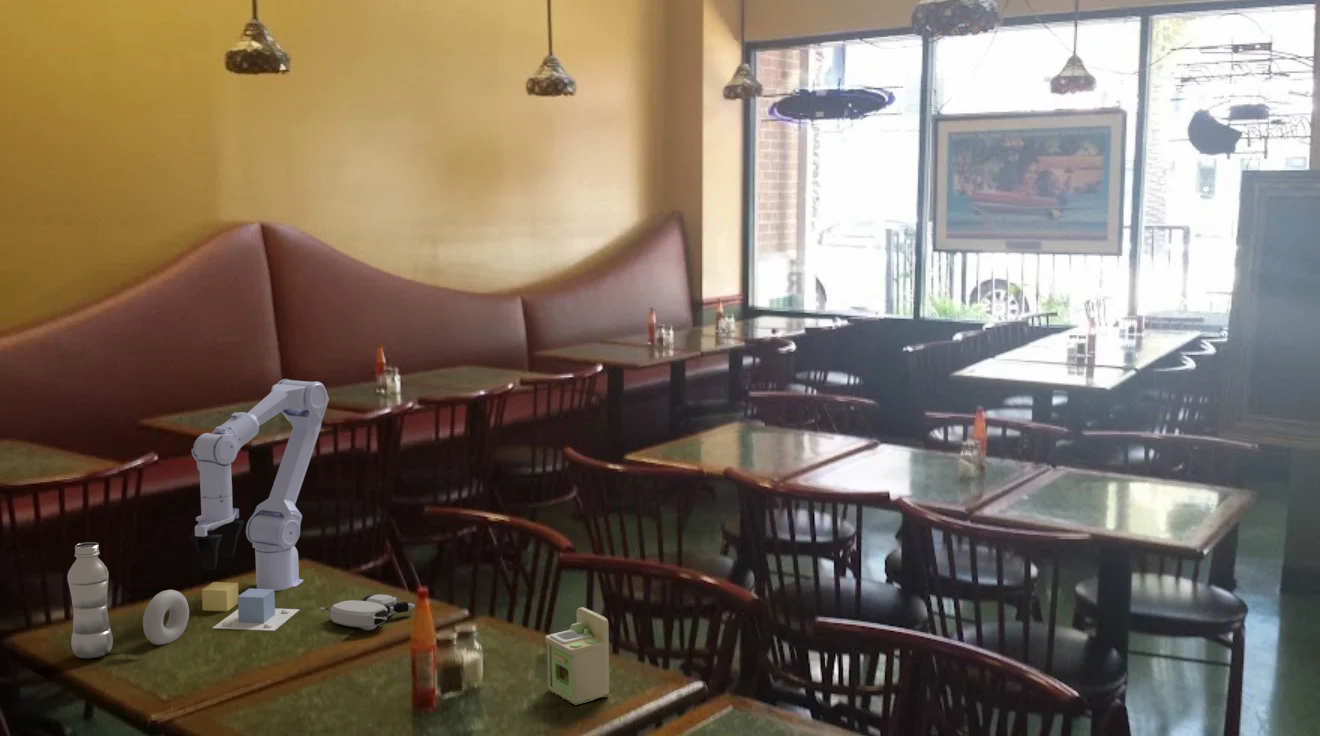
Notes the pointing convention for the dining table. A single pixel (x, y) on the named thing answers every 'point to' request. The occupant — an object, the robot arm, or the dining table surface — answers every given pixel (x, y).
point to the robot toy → (367, 611)
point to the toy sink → (580, 658)
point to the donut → (156, 613)
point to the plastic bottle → (89, 603)
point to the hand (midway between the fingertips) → (219, 563)
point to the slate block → (256, 605)
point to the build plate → (270, 625)
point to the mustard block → (220, 596)
